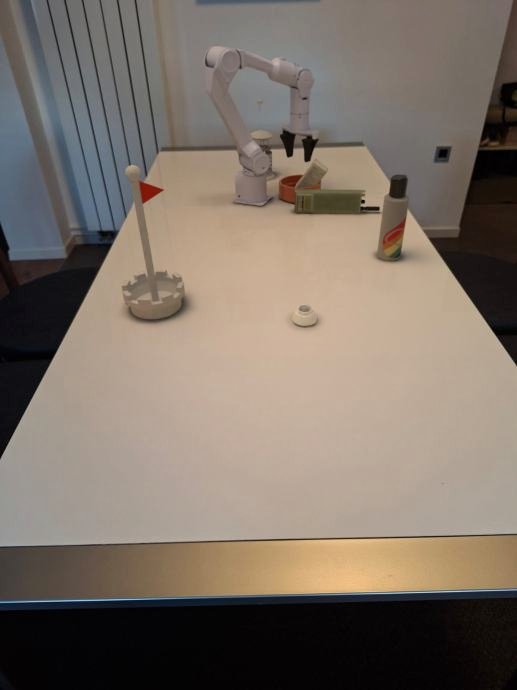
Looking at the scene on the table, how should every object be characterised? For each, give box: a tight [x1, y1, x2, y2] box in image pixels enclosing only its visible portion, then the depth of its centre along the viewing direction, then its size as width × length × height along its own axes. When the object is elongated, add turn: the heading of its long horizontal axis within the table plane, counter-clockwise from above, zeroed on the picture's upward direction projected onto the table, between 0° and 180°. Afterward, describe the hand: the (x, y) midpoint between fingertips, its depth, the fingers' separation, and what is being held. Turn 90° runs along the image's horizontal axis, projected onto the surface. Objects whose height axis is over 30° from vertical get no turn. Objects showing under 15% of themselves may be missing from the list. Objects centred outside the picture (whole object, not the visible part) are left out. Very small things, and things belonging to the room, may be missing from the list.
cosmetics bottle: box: [295, 158, 329, 188], centre depth 155 cm, size 5×4×10 cm
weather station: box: [250, 98, 276, 181], centre depth 170 cm, size 10×12×25 cm
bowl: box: [278, 174, 322, 204], centre depth 157 cm, size 13×13×5 cm
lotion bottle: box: [376, 174, 410, 262], centre depth 118 cm, size 6×6×20 cm
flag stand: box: [121, 164, 186, 320], centre depth 99 cm, size 13×13×30 cm
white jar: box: [291, 304, 318, 327], centre depth 101 cm, size 5×3×5 cm
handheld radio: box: [294, 189, 381, 215], centre depth 146 cm, size 7×3×25 cm
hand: (298, 159), depth 157 cm, fingers open, 7 cm apart
